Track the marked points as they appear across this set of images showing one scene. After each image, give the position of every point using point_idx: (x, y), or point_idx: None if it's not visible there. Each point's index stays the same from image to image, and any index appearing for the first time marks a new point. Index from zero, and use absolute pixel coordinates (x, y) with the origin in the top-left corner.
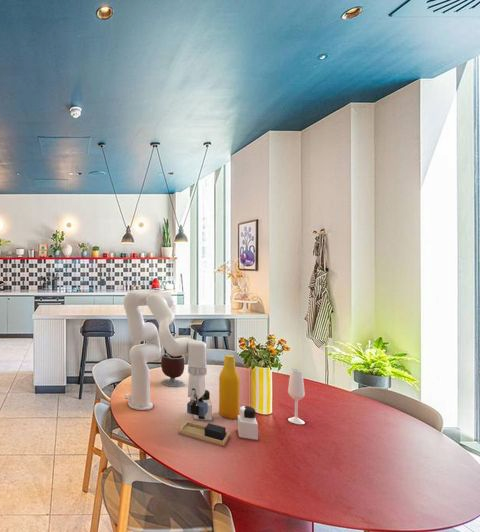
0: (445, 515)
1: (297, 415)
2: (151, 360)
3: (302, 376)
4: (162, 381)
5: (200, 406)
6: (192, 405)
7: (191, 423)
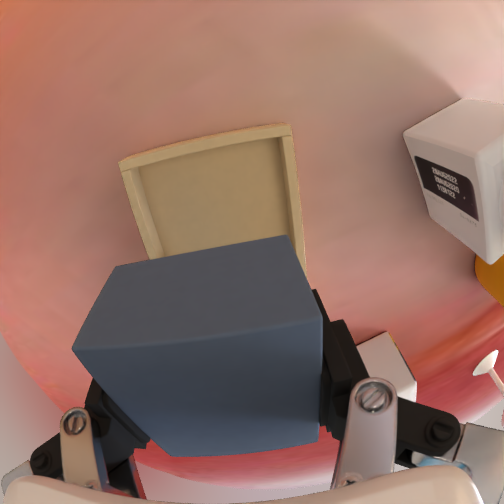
0: (265, 488)
1: (490, 375)
2: None
3: None
4: None
5: (166, 444)
6: (83, 414)
7: (285, 166)
